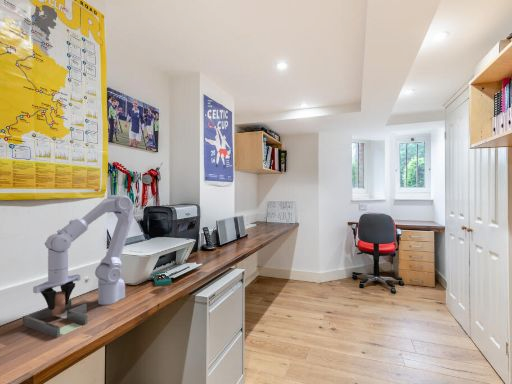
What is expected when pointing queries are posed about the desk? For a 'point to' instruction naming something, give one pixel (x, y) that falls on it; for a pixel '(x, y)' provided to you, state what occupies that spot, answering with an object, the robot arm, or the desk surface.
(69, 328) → the board
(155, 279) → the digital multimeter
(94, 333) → the desk surface
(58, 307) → the peg
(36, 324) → the rails
